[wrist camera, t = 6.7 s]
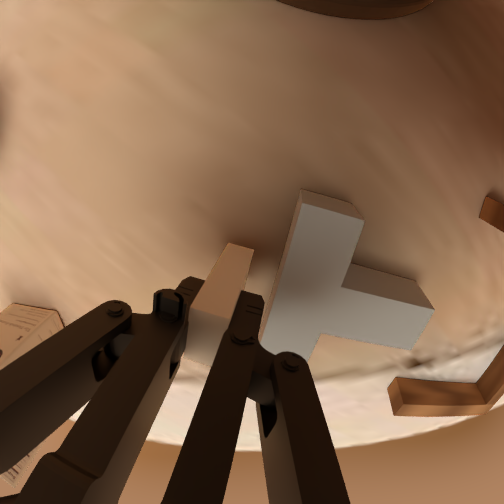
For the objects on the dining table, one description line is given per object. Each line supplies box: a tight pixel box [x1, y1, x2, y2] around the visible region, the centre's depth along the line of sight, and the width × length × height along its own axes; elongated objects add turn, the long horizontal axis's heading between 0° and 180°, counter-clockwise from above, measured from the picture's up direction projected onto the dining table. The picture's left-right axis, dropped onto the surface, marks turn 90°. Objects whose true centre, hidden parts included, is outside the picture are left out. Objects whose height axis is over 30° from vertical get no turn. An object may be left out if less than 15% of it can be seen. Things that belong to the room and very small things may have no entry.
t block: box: [258, 189, 435, 362], centre depth 16 cm, size 9×10×4 cm
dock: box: [387, 197, 504, 417], centre depth 16 cm, size 12×17×3 cm
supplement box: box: [0, 303, 64, 487], centre depth 18 cm, size 10×9×17 cm
